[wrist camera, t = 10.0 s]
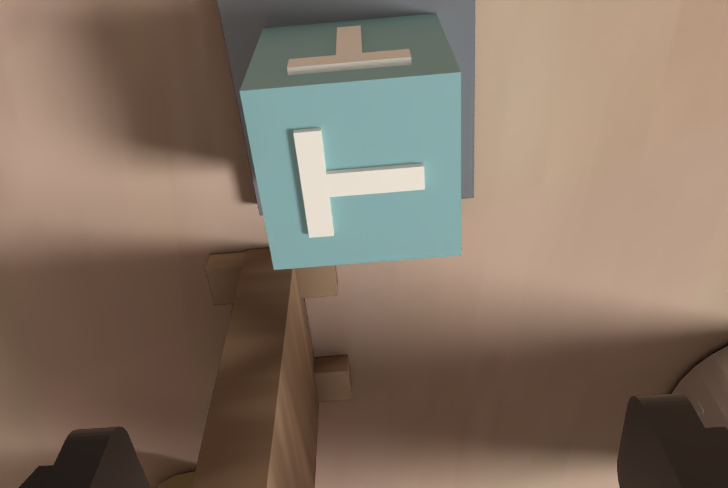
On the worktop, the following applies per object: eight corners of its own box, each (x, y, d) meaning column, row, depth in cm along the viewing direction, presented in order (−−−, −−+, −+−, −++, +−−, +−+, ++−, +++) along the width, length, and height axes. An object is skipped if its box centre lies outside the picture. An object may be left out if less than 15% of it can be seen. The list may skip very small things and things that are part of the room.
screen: (332, 242, 27) (323, 507, 17) (351, 385, 31) (353, 661, 21) (209, 252, 27) (125, 521, 17) (245, 393, 31) (196, 671, 21)
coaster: (471, -36, 21) (475, -31, 20) (470, 187, 25) (473, 197, 25) (219, -12, 21) (215, -7, 20) (262, 204, 26) (259, 215, 25)
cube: (436, 6, 21) (462, 67, 16) (439, 168, 24) (462, 259, 19) (262, 21, 21) (236, 86, 16) (287, 181, 24) (273, 274, 19)
